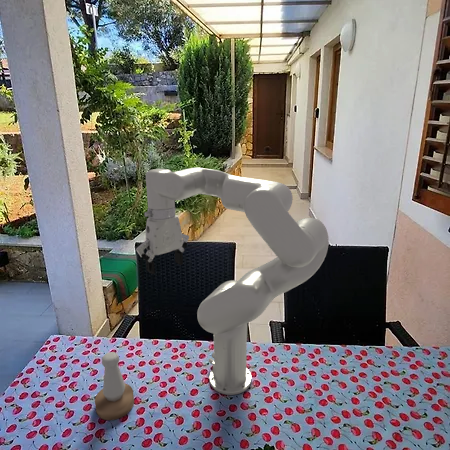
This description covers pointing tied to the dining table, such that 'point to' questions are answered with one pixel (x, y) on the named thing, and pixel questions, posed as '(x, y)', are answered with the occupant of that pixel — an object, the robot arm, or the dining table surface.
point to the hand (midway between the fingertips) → (165, 268)
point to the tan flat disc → (114, 405)
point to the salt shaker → (112, 377)
